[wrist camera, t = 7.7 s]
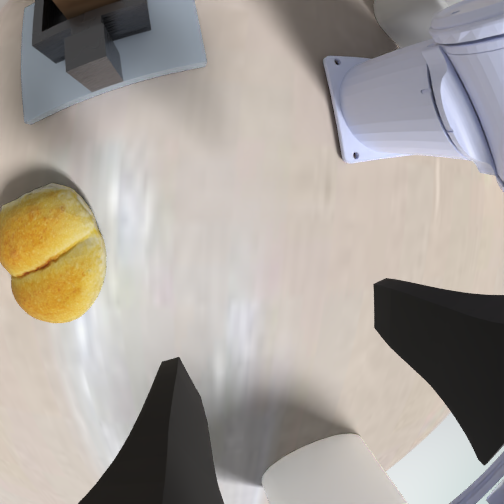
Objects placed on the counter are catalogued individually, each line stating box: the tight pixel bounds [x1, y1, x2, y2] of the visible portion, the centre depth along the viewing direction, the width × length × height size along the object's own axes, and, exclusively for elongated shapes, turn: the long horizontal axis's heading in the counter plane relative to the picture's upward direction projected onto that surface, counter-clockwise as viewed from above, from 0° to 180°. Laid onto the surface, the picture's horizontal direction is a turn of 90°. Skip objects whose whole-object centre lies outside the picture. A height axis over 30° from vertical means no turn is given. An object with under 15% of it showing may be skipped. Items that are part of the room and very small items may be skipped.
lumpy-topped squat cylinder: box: [373, 0, 463, 48], centre depth 13 cm, size 10×13×9 cm
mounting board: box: [21, 0, 207, 124], centre depth 12 cm, size 12×10×1 cm
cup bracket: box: [32, 0, 151, 92], centre depth 9 cm, size 6×9×4 cm
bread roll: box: [0, 183, 107, 323], centre depth 14 cm, size 8×9×4 cm
